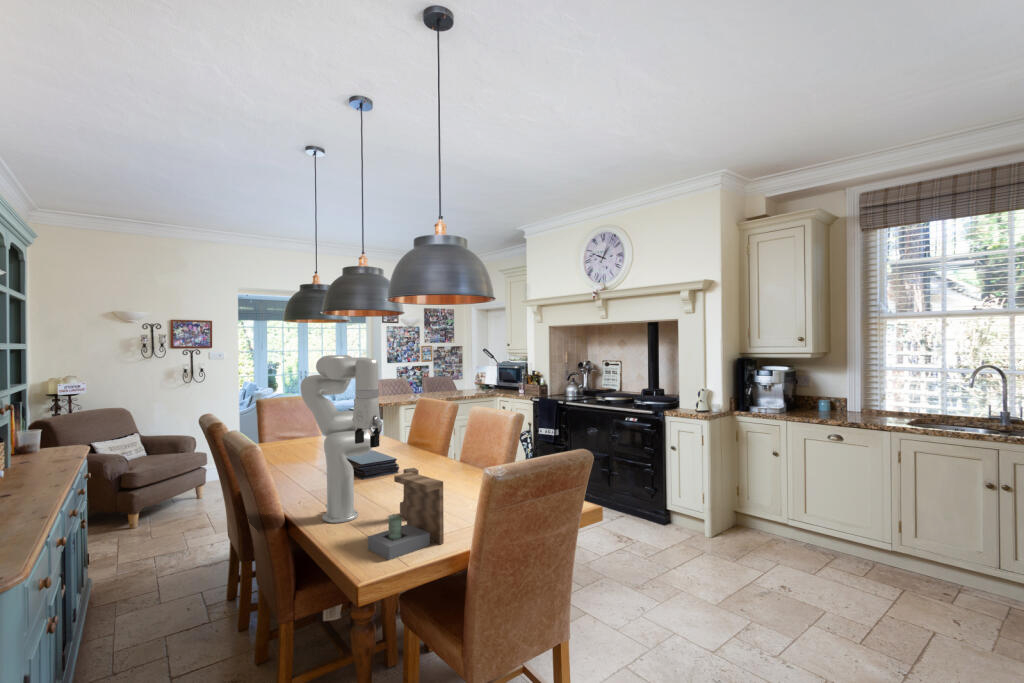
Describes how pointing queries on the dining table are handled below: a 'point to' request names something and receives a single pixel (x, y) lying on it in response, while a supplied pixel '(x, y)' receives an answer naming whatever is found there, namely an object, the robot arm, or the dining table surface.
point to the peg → (394, 527)
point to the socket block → (399, 542)
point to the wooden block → (404, 504)
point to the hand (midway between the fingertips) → (367, 445)
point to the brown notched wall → (424, 504)
